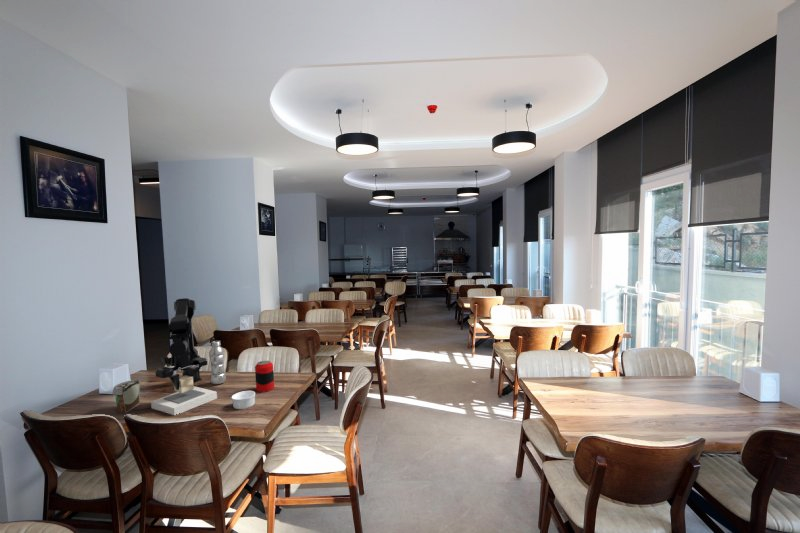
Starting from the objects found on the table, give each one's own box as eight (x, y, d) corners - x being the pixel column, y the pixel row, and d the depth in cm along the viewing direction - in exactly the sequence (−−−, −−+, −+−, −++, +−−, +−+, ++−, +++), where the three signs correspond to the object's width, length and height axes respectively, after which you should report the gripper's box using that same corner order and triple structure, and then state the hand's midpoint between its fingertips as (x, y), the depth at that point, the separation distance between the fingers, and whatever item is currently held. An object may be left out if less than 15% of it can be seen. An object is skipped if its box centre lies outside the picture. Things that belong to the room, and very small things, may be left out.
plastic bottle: (207, 385, 179) (204, 342, 178) (219, 380, 185) (216, 339, 184) (217, 386, 177) (215, 343, 176) (229, 381, 183) (226, 340, 182)
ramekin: (255, 408, 151) (254, 397, 151) (230, 411, 149) (230, 400, 149) (256, 399, 160) (256, 389, 160) (233, 402, 157) (233, 392, 157)
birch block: (186, 387, 162) (185, 375, 162) (193, 388, 160) (192, 376, 159) (174, 391, 158) (173, 379, 157) (181, 393, 155) (180, 380, 155)
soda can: (262, 385, 176) (260, 359, 175) (277, 386, 174) (276, 360, 173) (252, 392, 168) (251, 365, 168) (268, 392, 167) (266, 365, 166)
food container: (126, 403, 161) (124, 379, 161) (141, 402, 162) (139, 378, 161) (106, 416, 149) (104, 390, 149) (123, 414, 150) (121, 389, 149)
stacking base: (194, 392, 171) (193, 385, 170) (217, 398, 163) (216, 390, 163) (151, 408, 155) (151, 400, 155) (174, 415, 147) (174, 407, 147)
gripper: (191, 342, 170) (193, 377, 171) (146, 354, 154) (149, 392, 154) (207, 345, 164) (209, 381, 165) (162, 357, 148) (165, 397, 149)
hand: (184, 387), depth 159 cm, fingers closed on birch block, 5 cm apart
